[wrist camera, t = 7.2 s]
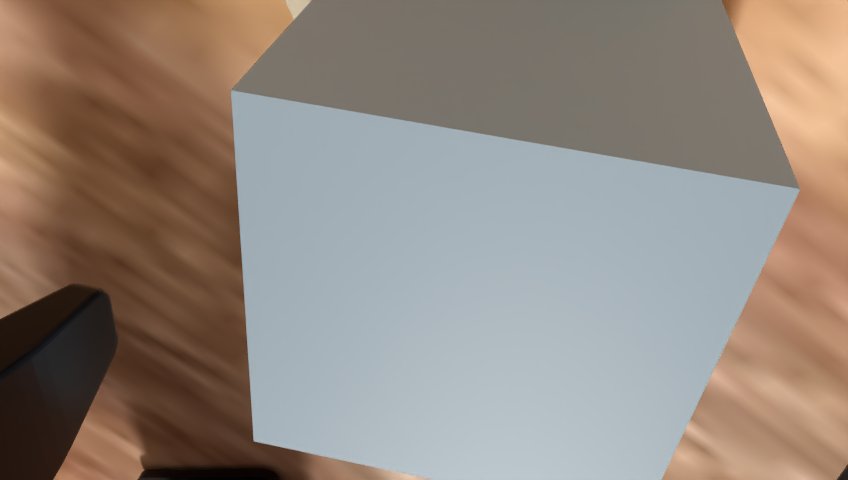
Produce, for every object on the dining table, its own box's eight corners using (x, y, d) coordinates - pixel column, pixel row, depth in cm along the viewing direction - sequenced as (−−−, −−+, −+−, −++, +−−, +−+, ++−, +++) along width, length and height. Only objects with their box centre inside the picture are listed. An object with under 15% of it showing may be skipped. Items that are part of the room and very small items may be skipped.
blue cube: (351, 224, 16) (253, 441, 12) (364, -59, 13) (230, 89, 8) (625, 274, 16) (640, 524, 11) (719, -5, 12) (800, 189, 8)
